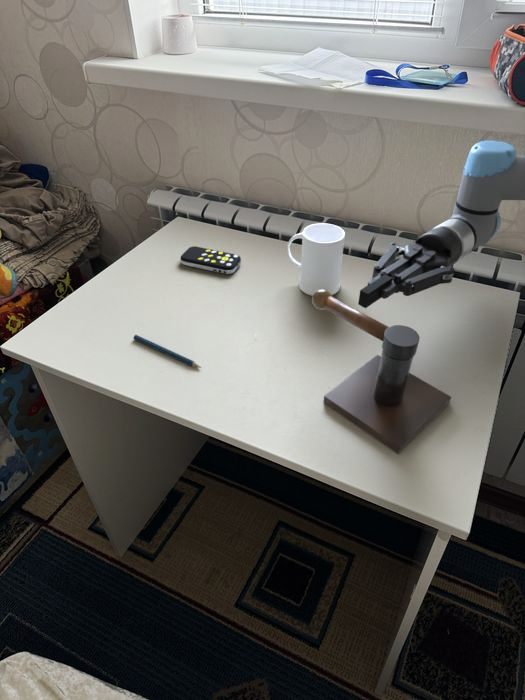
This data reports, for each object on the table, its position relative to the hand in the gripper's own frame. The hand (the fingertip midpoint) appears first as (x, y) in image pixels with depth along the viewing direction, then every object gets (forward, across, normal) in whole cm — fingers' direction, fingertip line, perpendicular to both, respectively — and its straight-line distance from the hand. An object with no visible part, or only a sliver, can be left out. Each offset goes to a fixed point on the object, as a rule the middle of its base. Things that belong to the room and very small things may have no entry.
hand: (363, 299), depth 79 cm
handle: (+5, -3, -2) cm, 6 cm away
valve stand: (+5, -10, -13) cm, 17 cm away
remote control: (-2, +41, -13) cm, 43 cm away
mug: (-13, +21, -13) cm, 27 cm away
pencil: (+22, +24, -13) cm, 35 cm away
